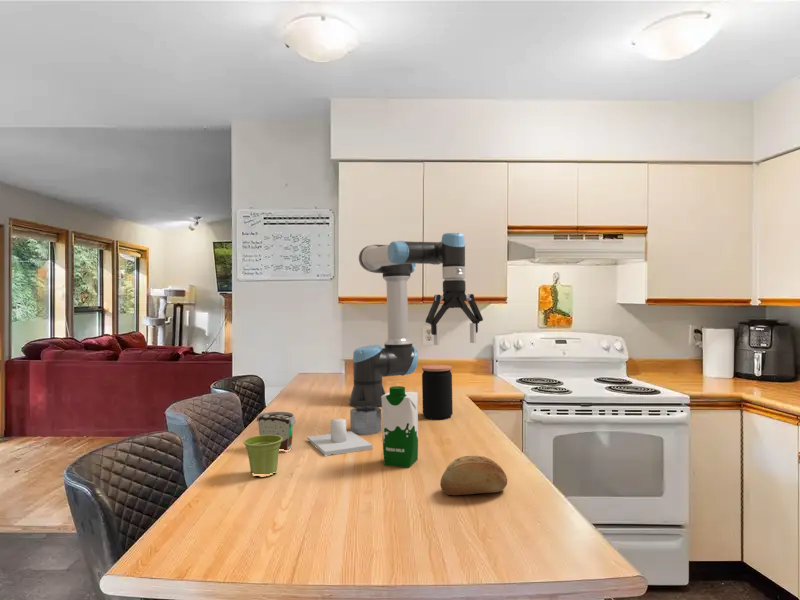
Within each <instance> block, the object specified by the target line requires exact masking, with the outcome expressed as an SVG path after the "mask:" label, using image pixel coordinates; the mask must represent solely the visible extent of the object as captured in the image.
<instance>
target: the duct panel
mask: <svg viewBox="0 0 800 600" xmlns="http://www.w3.org/2000/svg"><path fill="white" fill-rule="evenodd" d="M306 439H308V440H309V441H310V442H311V443H312V444H313V445H314V446H316V447H317V448H318V449H319V450H320V451H321V452H322V453H323V454H324V455H330V456H332V455H331V454H336V455H341V454H340V453H343V454H348V453H347V452H350V453H355V452H354V451H356V452H360V451H361V450H363V451H369V450H373V444H372V443H371V442H369V441H367V440H365V439H364V438H362V437H361V436H359V434H355V433H353V432H351V430H348V431H347V419H346V418H334V419H330V433H326V434H318V435H310V436H309V435H308V436H306ZM311 443H310V444H311ZM312 444H311V445H312ZM313 445H312V446H313ZM314 446H313V447H314ZM318 449H317V450H318ZM368 449H369V450H368ZM319 450H318V451H319ZM320 451H319V452H320ZM321 452H320V453H321ZM322 453H321V454H322ZM323 454H322V455H323ZM324 455H323V456H324Z"/></svg>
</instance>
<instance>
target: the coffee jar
mask: <svg viewBox="0 0 800 600" xmlns="http://www.w3.org/2000/svg"><path fill="white" fill-rule="evenodd" d="M452 369H453V366H451V365H447V364H428V365H423V366H422V367H421V370H422V374H421V385H422V386H421V389H422V397H421V398H422V415H423V417H424V418H425V419H426V420H431V419H432V421H435V420H436V421H441V420H442V421H443V419H444V420H449V419H451V417H452V416H453V412H454V411H453V409H454V408H453V373H452V371H451V370H452ZM448 418H449V419H448Z"/></svg>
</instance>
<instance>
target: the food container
mask: <svg viewBox="0 0 800 600" xmlns="http://www.w3.org/2000/svg"><path fill="white" fill-rule="evenodd" d="M257 422H258V423H257ZM256 423H257V424H258V431H259V432H258V434H259V436H260V435H278V436H281V437H282V441H281V445H280V447H279V449H284V450H289V449H290V448H291V449H292V446H293V445H292V444H293V443H292V441H293V430H294V429H293V428H294V424H296V418H295V416H294V414H293V413H292V412H286V411H270V412H263V413H258V414H257V417H256Z"/></svg>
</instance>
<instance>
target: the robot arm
mask: <svg viewBox="0 0 800 600" xmlns="http://www.w3.org/2000/svg"><path fill="white" fill-rule="evenodd" d="M358 262H359V264H360V266H361V268H362V269H363V270H365V271H367V272H369V273H373V274H382V278H383V280H384V281H385V282H386V309H387V310H386V313H387V314H386V316H387V317H386V320H387V322H386V323H387V340H386V341H385V342H384V348H383V347H382V345H380V344H373V345H371V344H370V345H364V346H359V347H358V348H356V349H355V350H354V351H353V352H352V354H353V355H352V356H353V358H352V363H353V364H352V366H353V367H352V369H353V387H352V390H351V393H350V397H349V405H350V406H351V407H353V408H355V407H364V406H369V407H378V408H379V407H382V399H381V396H383V395H385V394H386V391H385V389H384V385H383V378H384V377H396V376H403V377H404V376H407V375H408V376H409V375H412V374H413V373H414V372H415V371H416V369H417V366H418V364H419V363H418V362H419V353H418V349H417V348H416V347H415V346H413V341H412V340H411V339H410V338H409V309H408V305H409V304H408V302H409V301H408V281H409V280H410V278H411V274H413V273H414V271H415V270H416V268H415V267H416V264H417V265H418V264H421V265H422V264H423V265H427V264H428V265H441V264H442V266H441V268H442V269H441V270H442V279H443V281H442V292H443V293H442V294H434V296H433V302H432V305H431V307H430V309H429V311H428V313H427V314H428V315H427V316H426V318H425V323H426V324H429V325H430V327H431V328H430V331H431V332H430V333H431V335H433V345H435V346H440V324H438V323H439V322H440V320H441V319H442V317H443V316H444V314H446V313H447V311H448V310H449V309H459V308H460V309H461V310H462V312H463V313H464V314H465V315H466V316H467V318H468V319H469V321H470V323H469V343H471V344H477V334H478V332H479V326H478V325H479V324H480V322H482V321H484V318H483V316H482V314H481V312H480V309H479V307H478V305H477V302H476V301H475V295H474V293H468V294H466V291H467V289H466V281H465V280H464V279H465V278H466V243H465V235H464V233H462V232H447V233H446V232H445V233H443V234H442V236H441V241H404V240H395V241H391V242H390V243H389V244H371V245H367V246H364V247H363V248H362V249H361V250H360V252H359V254H358ZM442 301H443V303H442V305H441V302H442ZM465 301H467V302H468V304H467V303H466V302H465ZM440 305H441V306H440ZM468 305H469V306H470V308H469V307H468ZM439 306H440V308H439ZM438 309H439V310H438ZM437 310H438V311H437Z"/></svg>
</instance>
